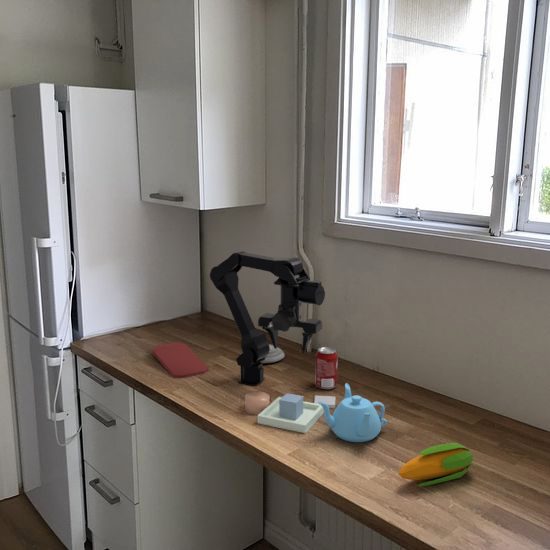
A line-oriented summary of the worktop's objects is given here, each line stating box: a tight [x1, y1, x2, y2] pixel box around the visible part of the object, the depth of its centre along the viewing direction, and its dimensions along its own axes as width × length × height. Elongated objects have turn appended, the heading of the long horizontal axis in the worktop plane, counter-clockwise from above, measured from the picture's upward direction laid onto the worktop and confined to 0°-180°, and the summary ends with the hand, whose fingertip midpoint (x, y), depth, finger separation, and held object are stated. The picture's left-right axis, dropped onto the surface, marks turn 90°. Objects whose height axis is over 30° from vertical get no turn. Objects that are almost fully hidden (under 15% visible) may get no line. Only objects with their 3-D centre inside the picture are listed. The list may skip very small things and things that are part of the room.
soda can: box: [314, 346, 339, 391], centre depth 193 cm, size 7×7×12 cm
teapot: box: [317, 382, 387, 443], centre depth 162 cm, size 15×15×10 cm
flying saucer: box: [261, 343, 285, 364], centre depth 219 cm, size 15×15×6 cm
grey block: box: [313, 395, 337, 409], centre depth 182 cm, size 6×6×2 cm
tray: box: [257, 396, 324, 434], centre depth 172 cm, size 14×14×2 cm
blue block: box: [279, 393, 304, 420], centre depth 172 cm, size 5×5×5 cm
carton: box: [152, 341, 209, 379], centre depth 213 cm, size 12×5×25 cm
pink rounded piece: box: [244, 391, 271, 416], centre depth 177 cm, size 7×7×4 cm
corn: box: [398, 442, 474, 487], centre depth 141 cm, size 7×8×20 cm
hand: (289, 350), depth 188 cm, fingers open, 9 cm apart
